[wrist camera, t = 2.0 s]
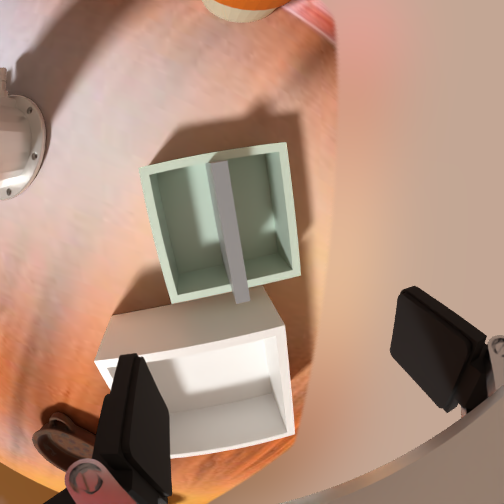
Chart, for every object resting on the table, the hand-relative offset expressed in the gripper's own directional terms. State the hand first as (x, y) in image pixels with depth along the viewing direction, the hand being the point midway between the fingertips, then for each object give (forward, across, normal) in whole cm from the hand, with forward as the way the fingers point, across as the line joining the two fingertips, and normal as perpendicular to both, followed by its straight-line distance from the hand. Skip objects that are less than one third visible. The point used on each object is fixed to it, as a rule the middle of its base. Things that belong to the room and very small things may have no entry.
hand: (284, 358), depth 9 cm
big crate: (+23, +6, +19) cm, 30 cm away
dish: (+24, +35, +36) cm, 56 cm away
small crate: (+24, 0, 0) cm, 24 cm away
